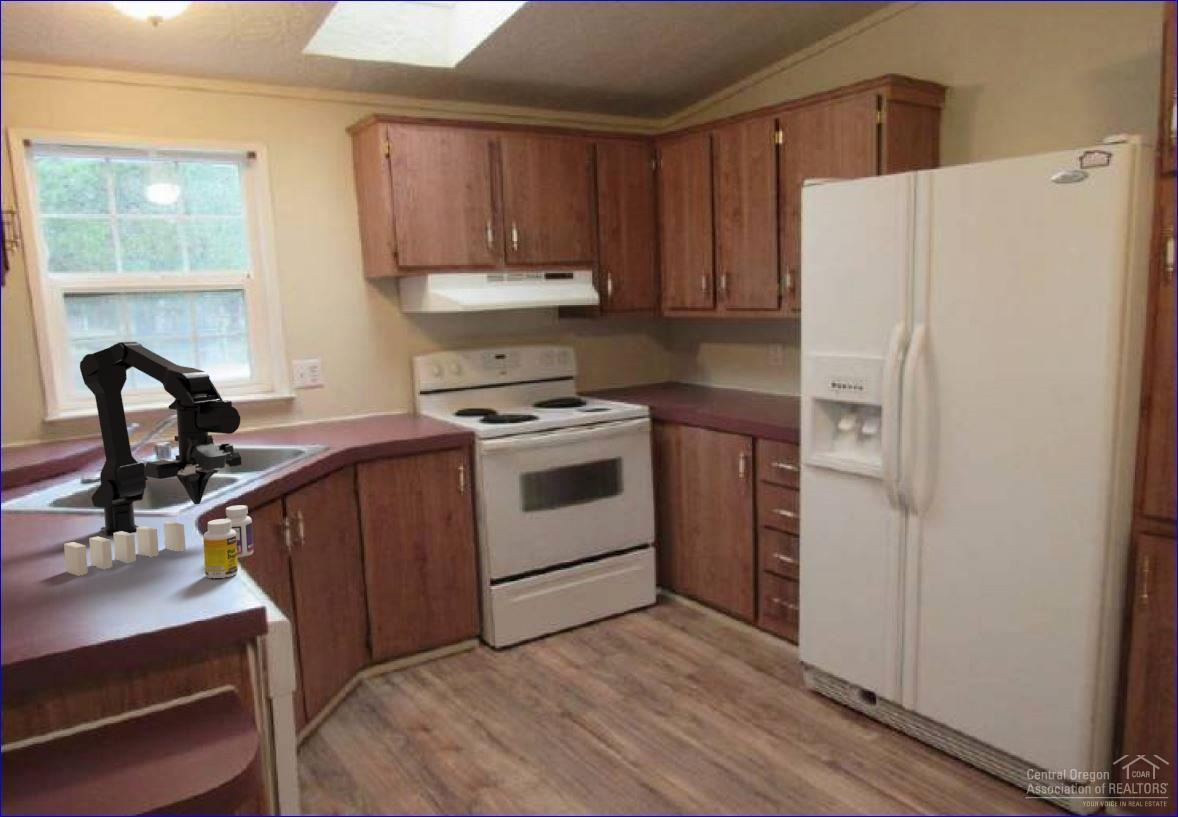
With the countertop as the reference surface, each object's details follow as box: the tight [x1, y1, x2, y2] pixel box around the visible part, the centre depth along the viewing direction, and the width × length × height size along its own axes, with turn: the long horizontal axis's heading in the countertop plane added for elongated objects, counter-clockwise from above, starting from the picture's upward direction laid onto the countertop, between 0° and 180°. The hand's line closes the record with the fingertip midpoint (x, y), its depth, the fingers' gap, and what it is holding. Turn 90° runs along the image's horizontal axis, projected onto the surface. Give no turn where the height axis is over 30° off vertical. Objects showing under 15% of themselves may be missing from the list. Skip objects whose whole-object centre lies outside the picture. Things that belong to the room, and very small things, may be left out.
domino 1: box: [63, 541, 89, 577], centre depth 151 cm, size 2×5×5 cm, turn 58°
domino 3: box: [113, 531, 137, 564], centre depth 159 cm, size 2×5×5 cm, turn 58°
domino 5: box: [163, 521, 186, 552], centre depth 166 cm, size 2×5×5 cm, turn 58°
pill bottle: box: [225, 504, 254, 559], centre depth 162 cm, size 5×5×10 cm
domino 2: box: [88, 535, 113, 570], centre depth 155 cm, size 2×5×5 cm, turn 58°
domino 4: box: [135, 525, 160, 558], centre depth 162 cm, size 2×5×5 cm, turn 58°
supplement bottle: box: [202, 518, 239, 580], centre depth 150 cm, size 6×6×10 cm
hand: (196, 504), depth 171 cm, fingers closed
